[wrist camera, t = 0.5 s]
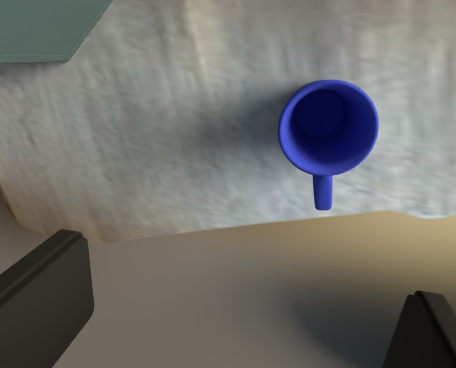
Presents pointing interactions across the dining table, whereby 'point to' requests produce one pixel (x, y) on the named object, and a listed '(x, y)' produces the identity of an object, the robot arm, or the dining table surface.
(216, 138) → the dining table surface
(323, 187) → the mug
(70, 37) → the cabinet
